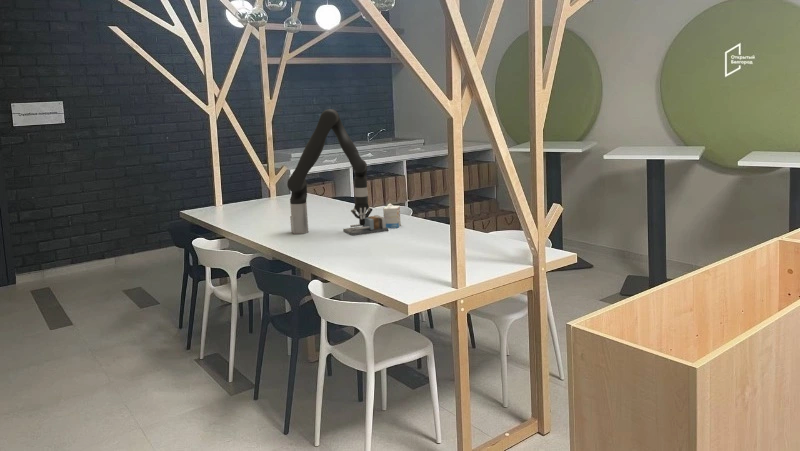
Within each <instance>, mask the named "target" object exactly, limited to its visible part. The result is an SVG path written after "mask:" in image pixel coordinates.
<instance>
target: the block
mask: <svg viewBox="0 0 800 451" xmlns="http://www.w3.org/2000/svg"><path fill="white" fill-rule="evenodd" d="M368 218H370V219H373V221H374V229H377V228H379V223H378V218H377V217H375V216H374V215H372V216H371V215H369V216H368Z"/></svg>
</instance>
